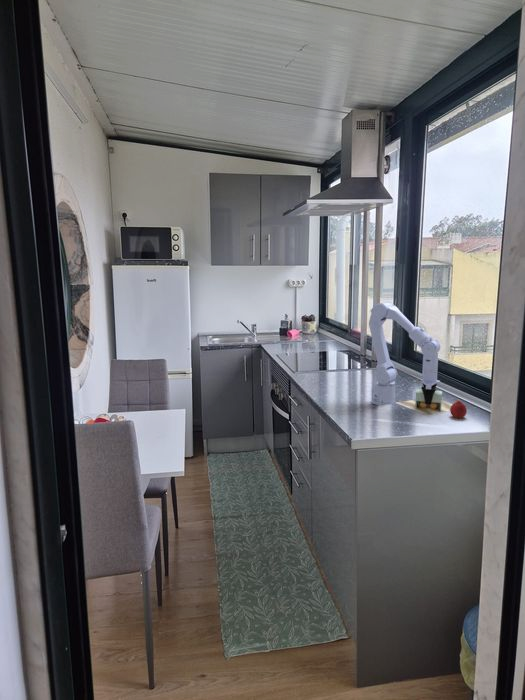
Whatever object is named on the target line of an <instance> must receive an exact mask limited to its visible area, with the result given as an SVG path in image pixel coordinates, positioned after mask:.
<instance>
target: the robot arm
mask: <svg viewBox="0 0 525 700" xmlns="http://www.w3.org/2000/svg"><path fill="white" fill-rule="evenodd" d="M386 320H393V321H395V322H396V323H397V324H398V325H399V326H401V327H402V328H403V329H404V330H405V331H406V332H407V333H408V337H409V338H410V340H412V341H413V342H414V343H415V344H416V345H417V347H419V348H420V350H421V353H422V355H423V356H422V357H423V358H422V377H421V383H422V386H421V387H420V389H421V390H422V391H423V394H424V399H425V404H430V405H431V403H432V398H433V395H434V392H435V391H437V388H436V387H437V385H438V384H440V383H441V380H438V371H439V370H438V368H439V367H438V365H439V352H440V350H441V343H439V341H438V340H437V339H433V337H432V336H430V335H429V334H428V333H426V331H425V328H423V327H421V326H416V325H415V326H414V324H413V323H412V322H411V321H410V320H409V319H408V318H407V317H406V316H405V315H404V314H403V313H402V312H401V311H400V309H399V308H398V307H397V306H396V305H394V303H392V302H391V301H385V302H378V303H376V304H374V306H373V307H372V308H371V310H370V317H369V322H368V327H369V331H370V336H371V338H372V339H371V340H372V345H373V348H374V353H375V357H376V361H377V364H376V366H375V370H376V373H375V380H376V382H377V384H374V385H372V387H371V401H370V404H374V405H375V406H381V405H386V404H387V405H389V404H394V403H396V402H395V401H396V400H395V399H396V397H395V393H396V381H395V380H396V379H397V378H398V375H399V374H398V370H397V368H395V366H394V363H393V362H392V361H391V359H390V355H389V354H390V353H389V349H388V346H387V340H386V336H385V333H384V332H385V331H384V328H383V324H384V323H385V322H386Z"/></svg>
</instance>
